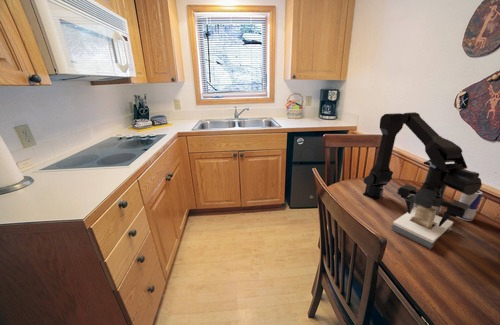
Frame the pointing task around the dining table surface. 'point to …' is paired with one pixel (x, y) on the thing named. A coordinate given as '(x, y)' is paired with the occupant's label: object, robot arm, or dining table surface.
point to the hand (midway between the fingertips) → (423, 219)
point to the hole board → (420, 229)
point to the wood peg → (425, 216)
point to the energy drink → (471, 204)
